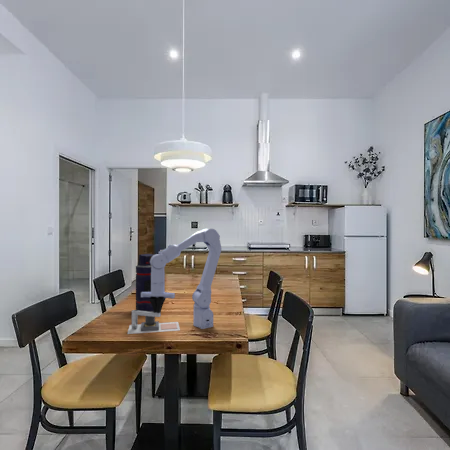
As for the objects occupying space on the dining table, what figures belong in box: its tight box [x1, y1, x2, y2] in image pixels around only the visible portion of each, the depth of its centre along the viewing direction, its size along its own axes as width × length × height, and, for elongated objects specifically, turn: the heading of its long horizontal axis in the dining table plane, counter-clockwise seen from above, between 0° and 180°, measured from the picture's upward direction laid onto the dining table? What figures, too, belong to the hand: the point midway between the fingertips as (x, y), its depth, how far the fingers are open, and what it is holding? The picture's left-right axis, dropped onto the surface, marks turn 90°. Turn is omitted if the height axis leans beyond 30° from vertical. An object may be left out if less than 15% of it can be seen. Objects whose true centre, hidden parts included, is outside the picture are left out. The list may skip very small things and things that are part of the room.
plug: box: [144, 316, 156, 326], centre depth 138 cm, size 4×4×6 cm
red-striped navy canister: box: [135, 253, 154, 312], centre depth 168 cm, size 14×12×30 cm
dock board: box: [127, 320, 181, 335], centre depth 138 cm, size 22×12×2 cm, turn 103°
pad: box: [161, 323, 177, 330], centre depth 139 cm, size 7×7×1 cm
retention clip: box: [131, 309, 162, 329], centre depth 135 cm, size 13×2×8 cm, turn 73°
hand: (157, 314), depth 136 cm, fingers closed
